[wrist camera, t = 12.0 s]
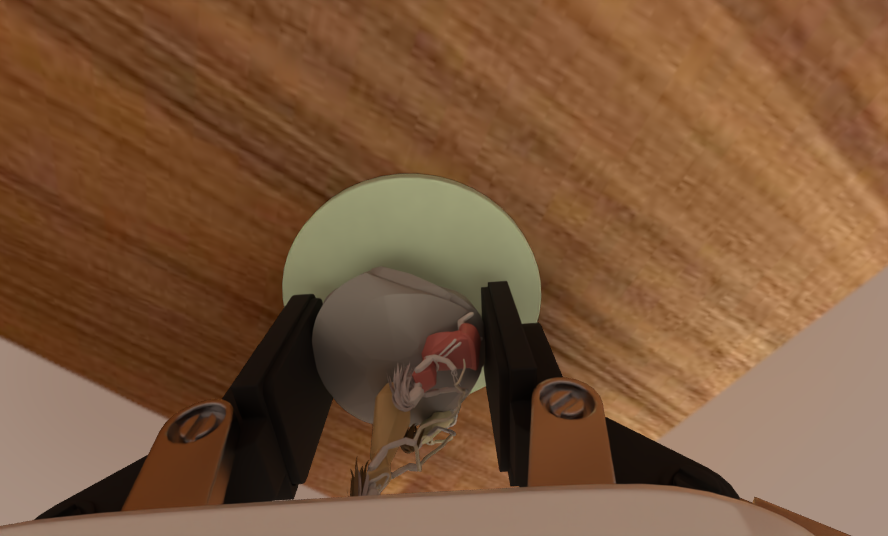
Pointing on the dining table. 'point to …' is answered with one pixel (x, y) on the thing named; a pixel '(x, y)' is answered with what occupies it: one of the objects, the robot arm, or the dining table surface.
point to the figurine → (398, 363)
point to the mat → (415, 242)
